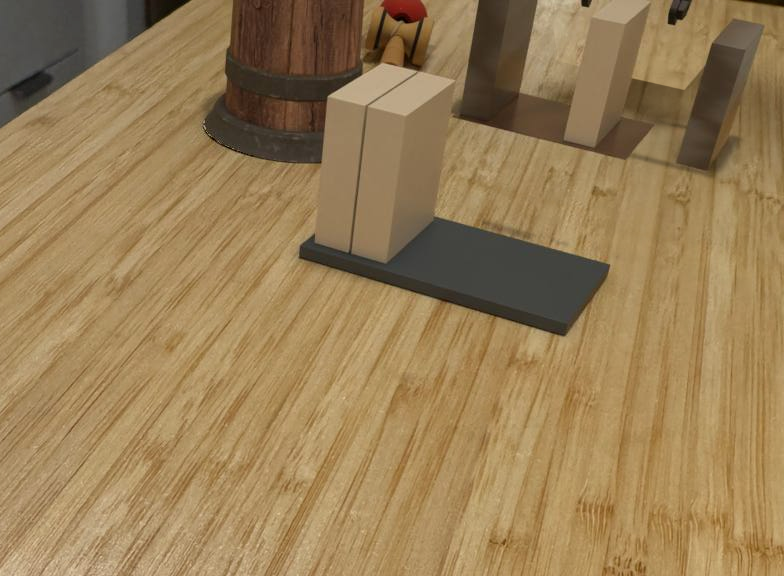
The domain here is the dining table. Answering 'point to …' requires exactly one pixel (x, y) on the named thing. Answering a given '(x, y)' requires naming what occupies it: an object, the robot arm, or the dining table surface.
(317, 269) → the dining table surface
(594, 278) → the dark base with blocks
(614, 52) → the beige rectangular block
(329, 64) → the tankard
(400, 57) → the kendama
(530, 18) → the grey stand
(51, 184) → the dining table surface
